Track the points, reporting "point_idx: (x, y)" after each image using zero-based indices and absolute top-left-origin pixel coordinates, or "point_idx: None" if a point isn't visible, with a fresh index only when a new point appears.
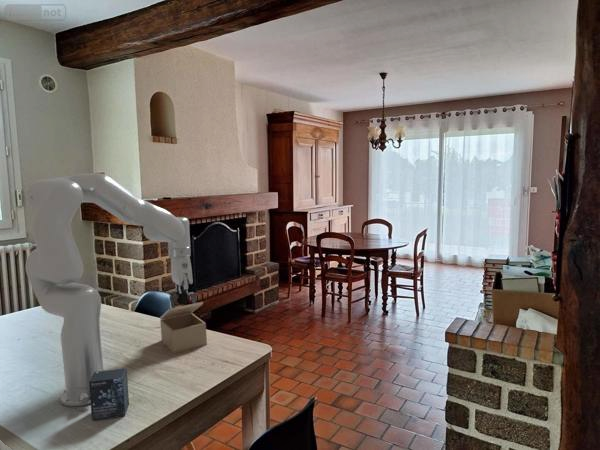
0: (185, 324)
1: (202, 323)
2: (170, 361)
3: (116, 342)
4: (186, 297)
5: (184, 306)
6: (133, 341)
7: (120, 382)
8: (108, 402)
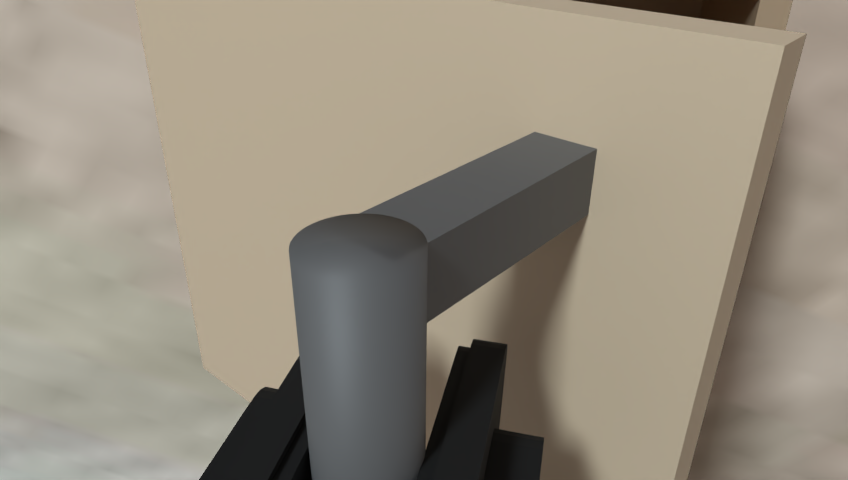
0: None
1: (760, 14)
2: (793, 351)
3: (179, 444)
4: (487, 462)
5: (682, 475)
6: None
7: None
8: None
